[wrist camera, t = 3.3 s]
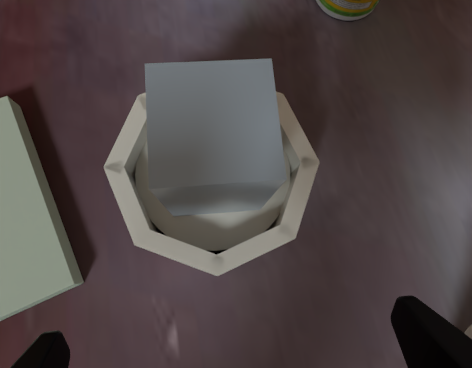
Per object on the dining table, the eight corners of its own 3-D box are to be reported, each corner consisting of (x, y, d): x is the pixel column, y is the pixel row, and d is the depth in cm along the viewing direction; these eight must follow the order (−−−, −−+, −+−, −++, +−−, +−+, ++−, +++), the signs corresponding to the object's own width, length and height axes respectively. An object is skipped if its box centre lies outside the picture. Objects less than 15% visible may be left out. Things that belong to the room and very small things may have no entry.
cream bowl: (321, 222, 23) (347, 213, 18) (169, 296, 21) (158, 305, 17) (251, 86, 25) (259, 49, 20) (107, 143, 23) (82, 116, 19)
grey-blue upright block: (259, 209, 20) (286, 179, 12) (173, 216, 19) (148, 189, 12) (251, 129, 21) (271, 58, 13) (169, 134, 20) (144, 63, 13)
